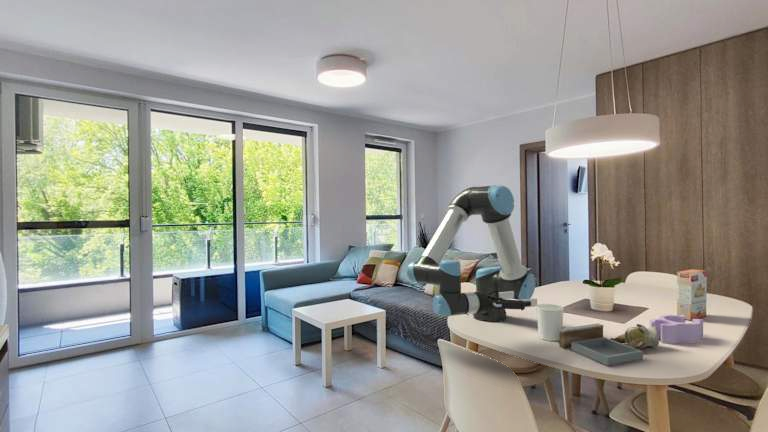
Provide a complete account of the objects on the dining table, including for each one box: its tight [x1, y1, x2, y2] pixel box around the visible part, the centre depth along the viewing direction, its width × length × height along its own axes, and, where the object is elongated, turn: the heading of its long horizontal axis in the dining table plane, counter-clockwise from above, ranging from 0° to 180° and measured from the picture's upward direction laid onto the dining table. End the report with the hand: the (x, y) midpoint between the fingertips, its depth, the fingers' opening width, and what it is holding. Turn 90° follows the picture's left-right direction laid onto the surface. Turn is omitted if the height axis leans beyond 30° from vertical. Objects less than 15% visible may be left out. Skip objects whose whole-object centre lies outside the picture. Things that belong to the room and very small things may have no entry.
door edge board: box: [559, 323, 604, 350], centre depth 141 cm, size 2×18×7 cm, turn 107°
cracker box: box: [676, 268, 708, 321], centre depth 172 cm, size 14×6×21 cm, turn 118°
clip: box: [649, 314, 704, 345], centre depth 147 cm, size 20×12×7 cm, turn 109°
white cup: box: [535, 303, 564, 342], centre depth 150 cm, size 10×10×12 cm
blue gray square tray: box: [570, 336, 644, 368], centre depth 131 cm, size 15×15×3 cm
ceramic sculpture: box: [609, 323, 660, 350], centre depth 138 cm, size 11×9×15 cm
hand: (524, 298), depth 145 cm, fingers open, 13 cm apart
